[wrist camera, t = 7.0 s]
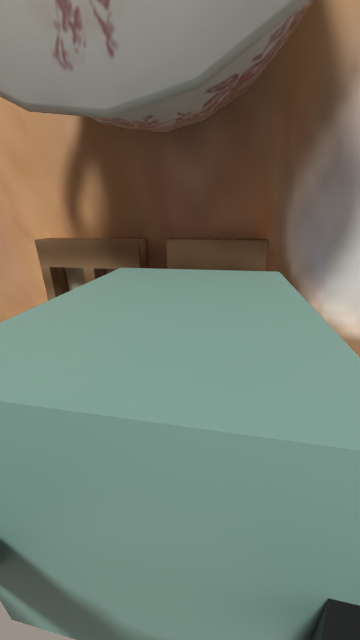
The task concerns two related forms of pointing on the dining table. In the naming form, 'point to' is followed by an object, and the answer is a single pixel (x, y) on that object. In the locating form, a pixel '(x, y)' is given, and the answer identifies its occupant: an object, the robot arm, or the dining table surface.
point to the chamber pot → (139, 56)
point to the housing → (178, 459)
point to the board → (217, 254)
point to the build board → (86, 260)
